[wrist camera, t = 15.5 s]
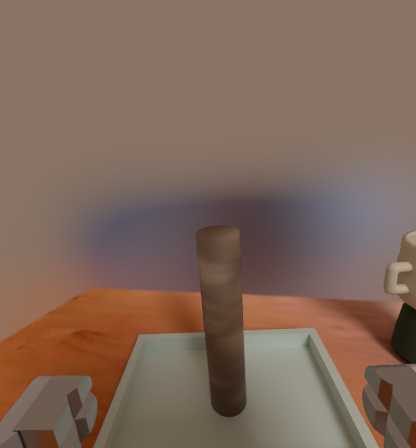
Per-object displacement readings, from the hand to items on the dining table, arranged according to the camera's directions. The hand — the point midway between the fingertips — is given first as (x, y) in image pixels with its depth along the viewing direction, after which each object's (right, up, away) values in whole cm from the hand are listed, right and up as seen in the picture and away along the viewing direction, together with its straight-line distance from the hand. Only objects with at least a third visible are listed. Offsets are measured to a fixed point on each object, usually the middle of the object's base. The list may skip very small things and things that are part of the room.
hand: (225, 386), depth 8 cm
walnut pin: (+1, -11, +16) cm, 19 cm away
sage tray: (+1, -12, +16) cm, 20 cm away
